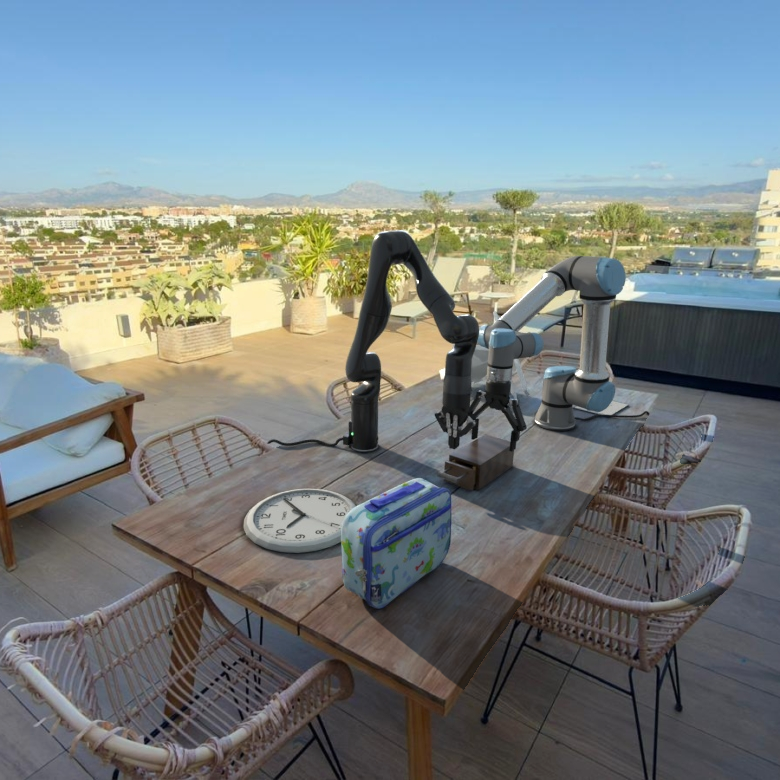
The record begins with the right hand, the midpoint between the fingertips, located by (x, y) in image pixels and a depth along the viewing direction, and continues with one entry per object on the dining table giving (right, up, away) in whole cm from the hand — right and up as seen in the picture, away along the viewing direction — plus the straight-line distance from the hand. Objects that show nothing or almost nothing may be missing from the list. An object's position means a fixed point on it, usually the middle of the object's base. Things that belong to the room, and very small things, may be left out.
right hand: (492, 444), depth 166 cm
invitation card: (+59, +10, +60) cm, 85 cm away
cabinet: (-4, -9, -2) cm, 10 cm away
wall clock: (-55, -16, -30) cm, 65 cm away
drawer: (-8, -9, -8) cm, 15 cm away
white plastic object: (+9, +16, +77) cm, 79 cm away
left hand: (-15, +1, -19) cm, 24 cm away
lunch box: (-31, -24, -53) cm, 66 cm away
